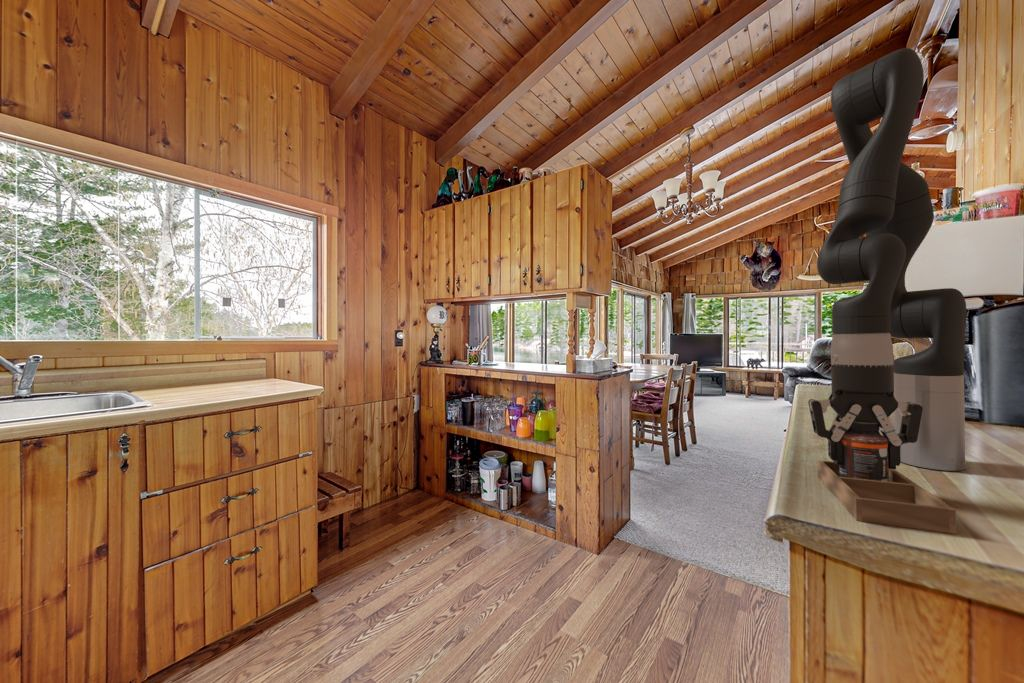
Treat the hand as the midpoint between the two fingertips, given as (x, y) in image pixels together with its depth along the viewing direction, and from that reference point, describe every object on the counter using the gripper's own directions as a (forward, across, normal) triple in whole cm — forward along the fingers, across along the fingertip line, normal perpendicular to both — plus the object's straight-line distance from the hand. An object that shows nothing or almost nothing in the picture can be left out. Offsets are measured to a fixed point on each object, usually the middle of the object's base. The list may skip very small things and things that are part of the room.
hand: (862, 465), depth 63 cm
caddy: (+4, 0, +4) cm, 6 cm away
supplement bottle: (+4, 0, 0) cm, 4 cm away
